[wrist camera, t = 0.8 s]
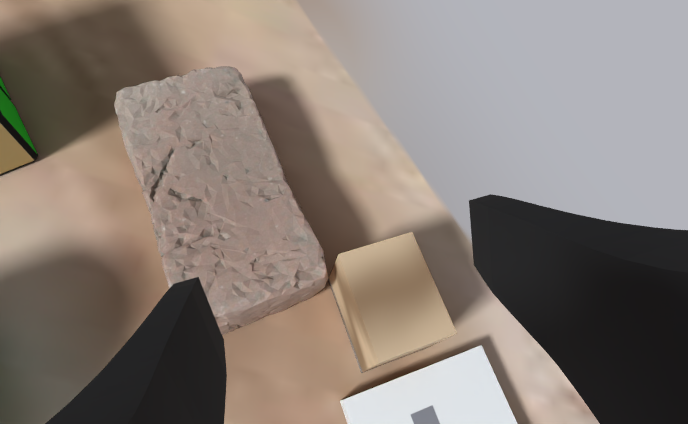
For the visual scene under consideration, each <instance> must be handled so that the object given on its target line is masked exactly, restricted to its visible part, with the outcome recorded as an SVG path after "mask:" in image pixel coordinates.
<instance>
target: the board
mask: <svg viewBox="0 0 688 424" xmlns="http://www.w3.org/2000/svg"><path fill="white" fill-rule="evenodd" d="M340 402H341V405H342V408H343V411H344V414H345V417H346V420H347V423H348V424H517V422H516V419H515V417H514V415H513V413H512V411H511V409H510V406H509V404H508V402H507V400H506V398H505V395H504V393H503V391H502V389H501V387H500V385H499V382H498V380H497V378H496V376H495V374H494V371H493V369H492V367H491V365H490V363H489V361H488V358H487V356H486V354H485V352H484V350H483V347H482V345H481V346H478V347H475V348H473V349H470V350H467V351H465V352H462V353H460V354H457V355H455V356H452V357H450V358H447V359H445V360H442V361H440V362H437V363H435V364H432V365H429V366H427V367H424V368H422V369H419V370H417V371H414V372H412V373H409V374H407V375H404V376H402V377H399V378H396V379H394V380H391V381H389V382H386V383H384V384H381V385H379V386H376V387H374V388H371V389H369V390H366V391H364V392H361V393H358V394H356V395H353V396H351V397H348V398H346V399H343V400H341V401H340Z"/></svg>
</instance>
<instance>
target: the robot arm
mask: <svg viewBox="0 0 688 424" xmlns="http://www.w3.org/2000/svg"><path fill="white" fill-rule="evenodd" d="M469 206H470V219H471V233H472V246H473V259H474V266H475V267H476V269H477V270H478V272H479V273H480V275H481V277H482V278H483V280H484V281H485V283H486V284H487V285H488V287H489V288H490V290H491V291H492V293H493V294H494V295H495V296H496V297H497V298H498V299H499V301H500V302H501V303H502V304H503V305H504V306H505V307H506V308H507V309H508V311H509V312H510V313H511V314H512V315H513V316H514V317H515V318H516V319H517V320H518V322H519V323H520V324H521V325H522V326H523V327H524V328H525V329H526V330H527V331H528V332H529V333H530V335H531V336H532V337H533V338H534V339H535V340H536V341H537V342H538V343H539V344H540V345H541V347H542V348H543V349H544V350H545V351H546V352H547V353H548V354H549V356H550V357H551V358H552V359H553V360H554V361H555V363H556V364H557V365H558V366H559V368H560V369H561V370H562V372H563V373H564V374H565V376H566V377H567V378H568V380H569V381H570V382H571V384H572V385H573V386H574V388H575V389H576V391H577V392H578V393H579V395H580V396H581V397H582V399H583V400H584V402H585V403H586V404H587V406H588V407H589V409H590V410H591V412H592V413H593V414H594V416H595V417H596V419H597V420H598V422H599V423H600V424H688V230H673V229H663V228H653V227H645V226H638V225H631V224H623V223H617V222H611V221H605V220H600V219H596V218H591V217H586V216H581V215H576V214H572V213H567V212H563V211H559V210H555V209H551V208H547V207H543V206H539V205H536V204H532V203H528V202H524V201H520V200H515V199H512V198H507V197H502V196H496V195H488V196H484V197H480V198H477V199H473V200H470V201H469ZM226 376H227V374H226V360H225V348H224V339H223V337H222V334H221V332H220V329H219V327H218V324H217V322H216V319H215V317H214V314H213V312H212V309H211V307H210V304H209V302H208V299H207V297H206V294H205V292H204V289H203V287H202V284H201V282H200V279H199V277H196V278H192V279H189V280H185V281H182V282H178V283H174V284H173V285H172V286H171V287H170V289H169V290H168V291H167V292H166V293H165V295H164V296H163V297H162V299H161V300H160V301H159V302H158V304H157V305H156V306H155V308H154V309H153V310H152V312H151V313H150V314H149V315H148V317H147V318H146V319H145V321H144V322H143V323H142V324H141V326H140V327H139V328H138V329H137V331H136V332H135V333H134V334H133V336H132V337H131V338H130V339H129V340H128V341H127V343H126V344H125V345H124V346H123V347H122V348H121V350H120V351H119V352H118V353H117V354H116V355H115V356H114V358H113V359H112V360H111V361H110V362H109V363H108V365H107V366H106V367H105V368H104V369H103V370H102V371H101V372H100V373H99V374H98V375H97V376H96V377H95V378H94V379H93V380H92V381H91V382H90V383H89V384H88V385H87V386H86V387H85V388H84V389H83V390H82V391H81V392H80V393H79V394H78V395H77V396H76V397H75V398H74V399H73V400H72V401H71V402H70V403H69V404H67V405H66V406H65V407H64V408H63V409H62V410H61V411H60V412H58V413H57V414H56V415H55V416H54V417H53V418H51V419H50V420H49V421H48V422H47V423H45V424H224V413H225V396H226Z"/></svg>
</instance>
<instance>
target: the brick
mask: <svg viewBox="0 0 688 424" xmlns="http://www.w3.org/2000/svg"><path fill="white" fill-rule="evenodd" d="M114 107H115V111H116V114H117V116H118V120H119V127H120V129H121V132H122V137H123V141H124V145H125V148H126V151H127V154H128V156H129V159H130V161H131V163H132V166H133V168H134V171H135V176H136V178H137V180H138V182H139V184H140V186H141V187H142V190H143V192H142V194H143V196H144V198H145V200H146V203H147V206H148V209H149V212H150V214H151V220H152V224H153V229H154V233H155V236H156V240H157V245H158V251H159V253H160V255H161V257H162V266H163V269H164V273H165V276H166V279H167V282H168V286H169V289H170V287H171V286H172V285H173V284H174V283H178V282H182V281H185V280H189V279H192V278H196V277H199V279H200V282H201V284H202V287H203V289H204V292H205V294H206V297H207V299H208V302H209V304H210V307H211V309H212V312H213V314H214V317H215V319H216V322H217V324H218V327H219V329H220V332H221V334H222V335H223V334H225V333H228V332H230V331H233V330H234V329H236V328H239V327H242V326H244V325H247V324H250V323H252V322H255V321H257V320H259V319H260V318H262V317H264V316H266V315H271V314H275V313H278V312H281V311H283V310H286V309H288V308H289V307H291V306H292V305H294V304H296V303H298V302H300V301H305V300H307V299H309V298H311V297H313V296H314V295H315V294H317V293H318V292H319V291H321V290H322V289H323V288H325V285H326V282H327V280H328V273H327V269H326V264H325V258H324V252H323V249H322V247H321V245H320V243H319V241H318V239H317V238H316V236H315V234H314V232H313V230H312V228H311V226H310V225H309V223H308V221H307V220H306V218H305V217H304V215H303V212H302V210H301V208H300V206H299V204H298V203H297V201H296V199H295V197H294V195H293V193H292V191H291V189H290V188H289V186H288V183H287V181H286V178H285V175H284V172H283V169H282V167H281V164H280V161H279V159H278V156H277V154H276V151H275V149H274V146H273V144H272V142H271V140H270V137H269V135H268V132H267V130H266V127H265V125H264V122H263V119H262V117H261V115H260V113H259V112H258V109H257V106H256V104H255V102H254V100H253V97H252V95H251V92H250V90H249V88H248V86H247V85H246V84H245V82H244V80H243V77H242V75H241V73H240V72H239V71H238V70H237V69H236V68H233V67H217V68H205V69H199V70H192V71H190V72H189V73H188V74H186V75H183V76H171V77H167V78H165V79H164V80H161V81H156V80H154V81H150V82H145V83H142V84H139V85H137V86H132V87H125V88H123V89H121V90H119V91H117V92H116V100H115V102H114Z"/></svg>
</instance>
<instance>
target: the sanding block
mask: <svg viewBox="0 0 688 424" xmlns="http://www.w3.org/2000/svg"><path fill="white" fill-rule="evenodd" d="M328 280H329V283H330V286H331V289H332V292H333V294H334V297H335V300H336V303H337V306H338V308H339V311H340V314H341V317H342V320H343V322H344V325H345V328H346V331H347V334H348V336H349V339H350V342H351V345H352V348H353V350H354V353H355V356H356V359H357V362H358V364H359V367H360V370H361V373H363V372H365V371H368V370H370V369H373V368H376V367H378V366H381V365H384V364H386V363H389V362H391V361H394V360H397V359H399V358H402V357H405V356H407V355H410V354H412V353H415V352H418V351H420V350H423V349H426V348H428V347H430V346H432V345H434V344H436V343H438V342H441V341H443V340H445V339H447V338H449V337H451V336H453V335H455V334H457V332H456V330H455V327H454V325H453V323H452V321H451V318H450V316H449V314H448V312H447V309H446V307H445V305H444V303H443V300H442V298H441V296H440V294H439V291H438V289H437V287H436V284H435V282H434V280H433V278H432V275H431V273H430V271H429V269H428V266H427V264H426V262H425V260H424V257H423V255H422V253H421V251H420V248H419V246H418V244H417V242H416V239H415V237H414V235H413V232H410V233H406V234H403V235H400V236H396V237H393V238H390V239H386V240H383V241H380V242H377V243H373V244H370V245H367V246H363V247H360V248H357V249H353V250H350V251H347V252H343V253H340V254H338V256H337V259H336V261H335V264H334V266H333V269H332V271H331V274H330V276H329V279H328Z"/></svg>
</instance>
